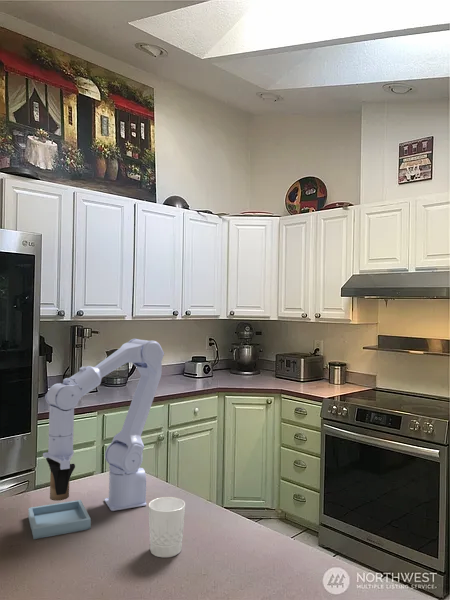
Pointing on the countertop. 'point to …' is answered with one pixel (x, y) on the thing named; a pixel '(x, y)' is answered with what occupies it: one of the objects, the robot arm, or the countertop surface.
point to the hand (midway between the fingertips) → (59, 490)
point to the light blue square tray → (58, 519)
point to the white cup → (166, 526)
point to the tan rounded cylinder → (53, 492)
